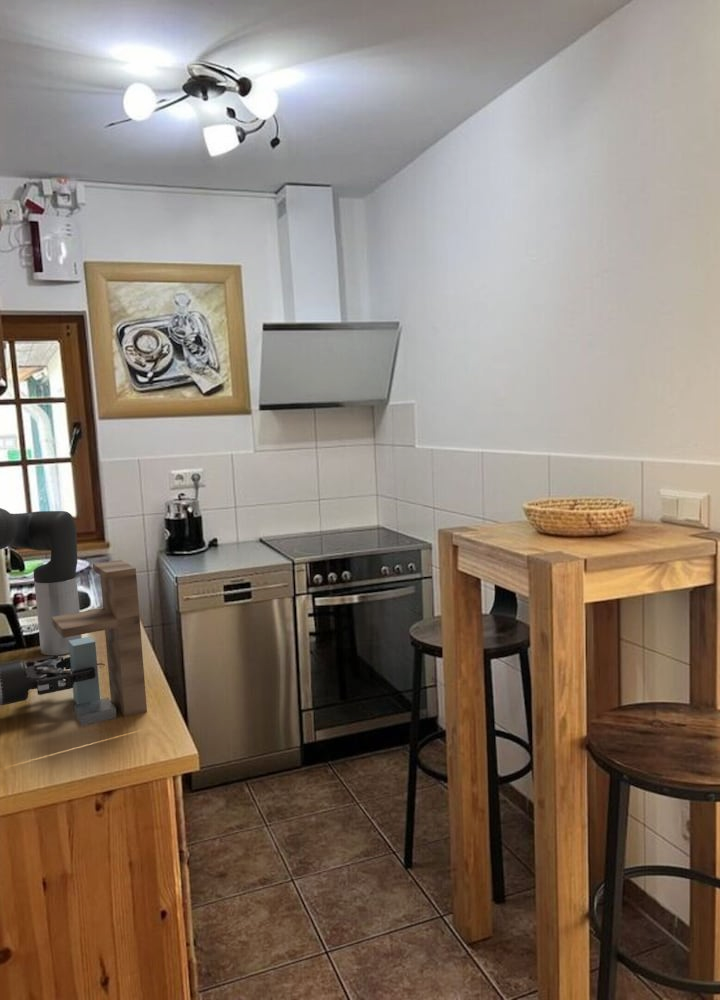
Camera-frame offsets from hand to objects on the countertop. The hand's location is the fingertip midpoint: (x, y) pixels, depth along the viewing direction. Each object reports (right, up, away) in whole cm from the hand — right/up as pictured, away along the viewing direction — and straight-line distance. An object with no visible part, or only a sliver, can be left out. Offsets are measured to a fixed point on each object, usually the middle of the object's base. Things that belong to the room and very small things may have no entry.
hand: (89, 665), depth 142 cm
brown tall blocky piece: (+5, -8, -6) cm, 11 cm away
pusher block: (-1, -7, 0) cm, 7 cm away
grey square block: (+4, -8, -8) cm, 12 cm away
